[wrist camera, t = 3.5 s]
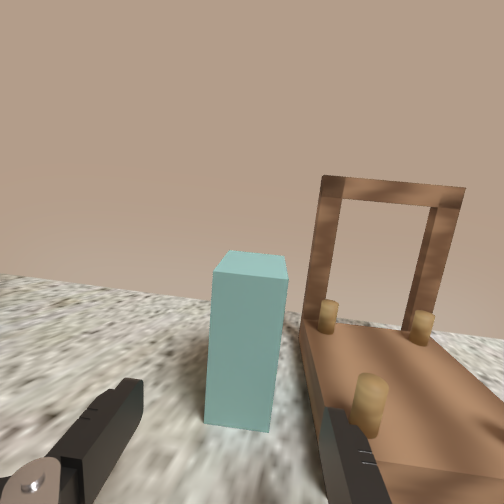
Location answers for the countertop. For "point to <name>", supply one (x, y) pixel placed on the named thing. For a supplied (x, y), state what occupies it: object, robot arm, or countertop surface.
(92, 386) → the countertop surface
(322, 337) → the peg shelf
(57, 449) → the robot arm
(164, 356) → the countertop surface
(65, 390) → the countertop surface
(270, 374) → the teal block
